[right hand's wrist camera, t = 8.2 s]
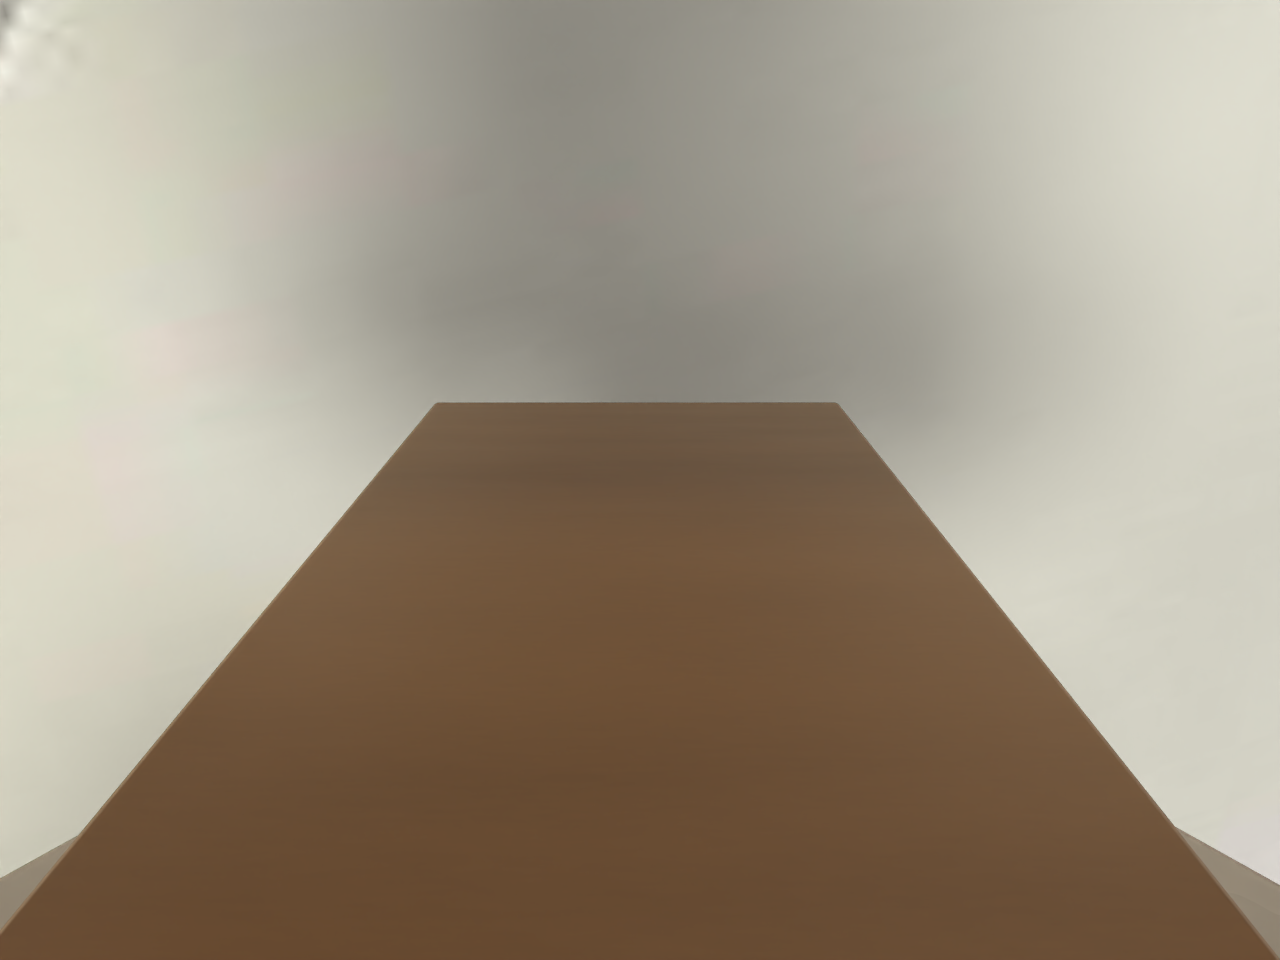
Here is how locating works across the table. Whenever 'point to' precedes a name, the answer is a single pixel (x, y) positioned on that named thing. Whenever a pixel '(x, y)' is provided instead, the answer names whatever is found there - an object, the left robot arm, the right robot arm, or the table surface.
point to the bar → (632, 730)
